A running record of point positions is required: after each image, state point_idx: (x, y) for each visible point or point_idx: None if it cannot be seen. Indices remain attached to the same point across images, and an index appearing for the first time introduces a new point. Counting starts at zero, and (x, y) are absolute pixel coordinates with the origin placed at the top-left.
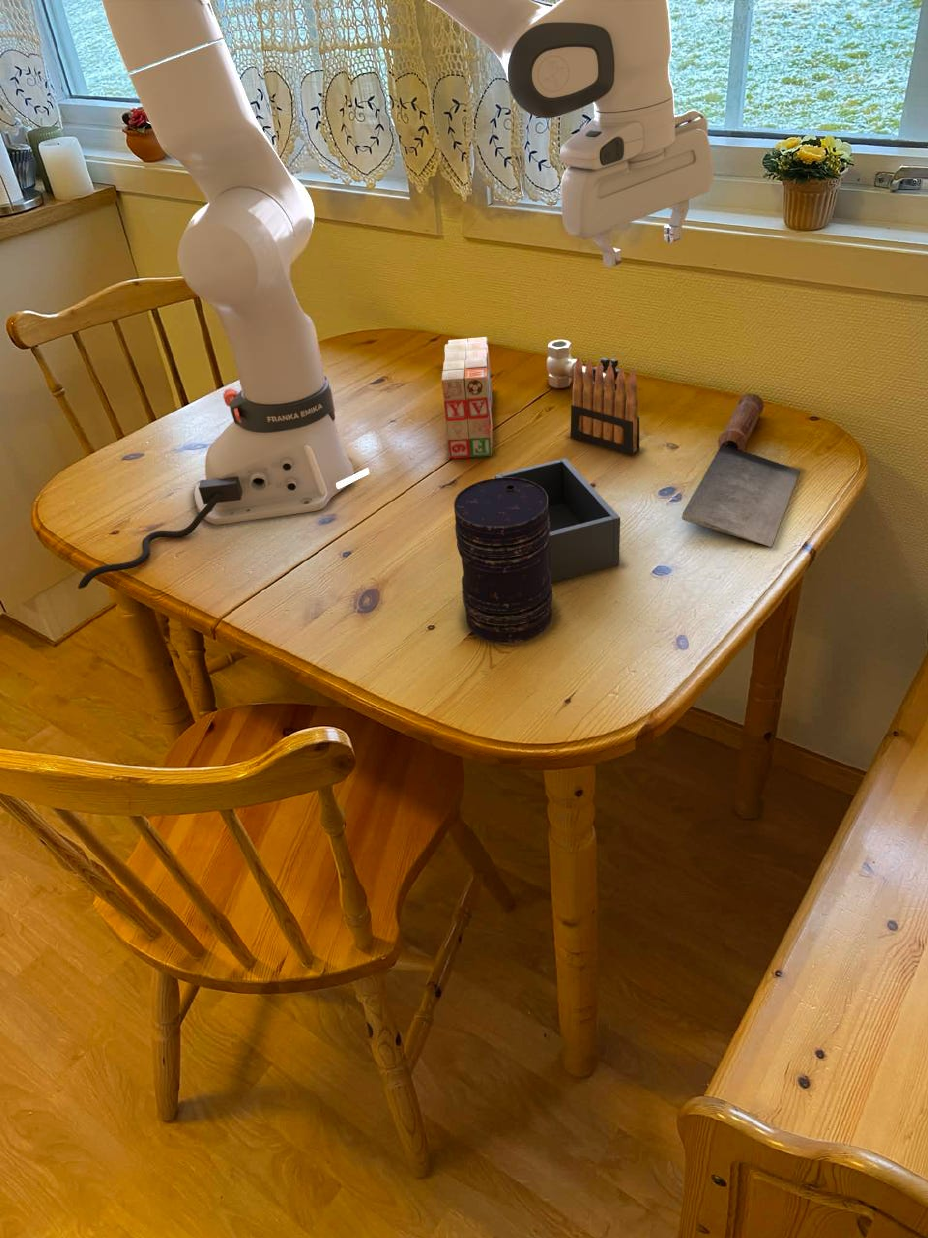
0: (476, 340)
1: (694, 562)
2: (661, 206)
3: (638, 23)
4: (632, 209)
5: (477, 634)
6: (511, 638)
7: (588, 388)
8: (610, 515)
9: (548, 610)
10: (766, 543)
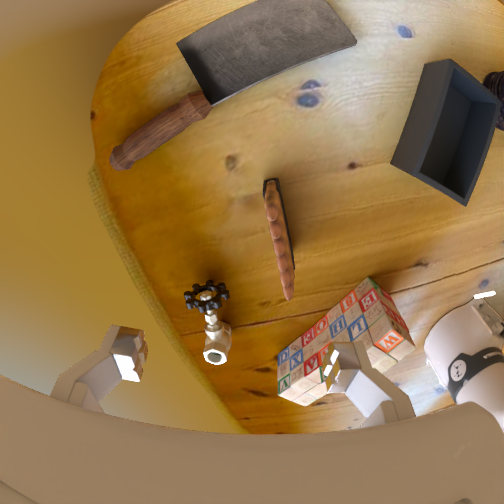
0: (290, 395)
1: (377, 16)
2: (174, 439)
3: None
4: (331, 469)
5: None
6: None
7: (290, 262)
8: (453, 68)
9: (499, 72)
10: None
